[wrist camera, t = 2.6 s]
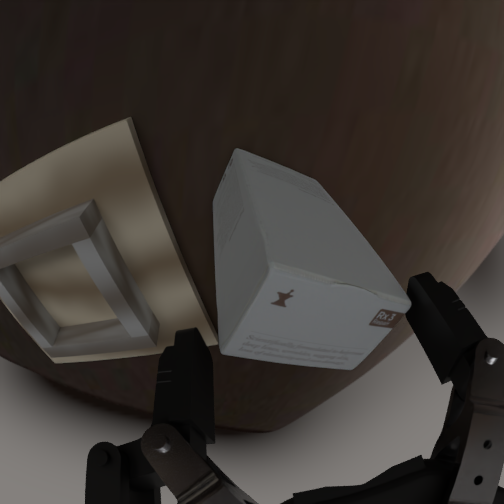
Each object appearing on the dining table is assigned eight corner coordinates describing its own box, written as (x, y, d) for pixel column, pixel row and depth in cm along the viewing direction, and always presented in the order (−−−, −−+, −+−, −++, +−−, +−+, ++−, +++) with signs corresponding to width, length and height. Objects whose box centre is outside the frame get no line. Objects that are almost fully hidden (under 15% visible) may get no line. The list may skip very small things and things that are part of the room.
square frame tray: (-44, 211, 16) (-65, 232, 14) (131, 116, 16) (112, 128, 13) (57, 356, 28) (49, 380, 25) (217, 335, 27) (218, 366, 24)
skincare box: (210, 203, 20) (207, 362, 10) (236, 141, 17) (261, 262, 8) (293, 230, 21) (348, 379, 12) (323, 176, 19) (418, 307, 9)
